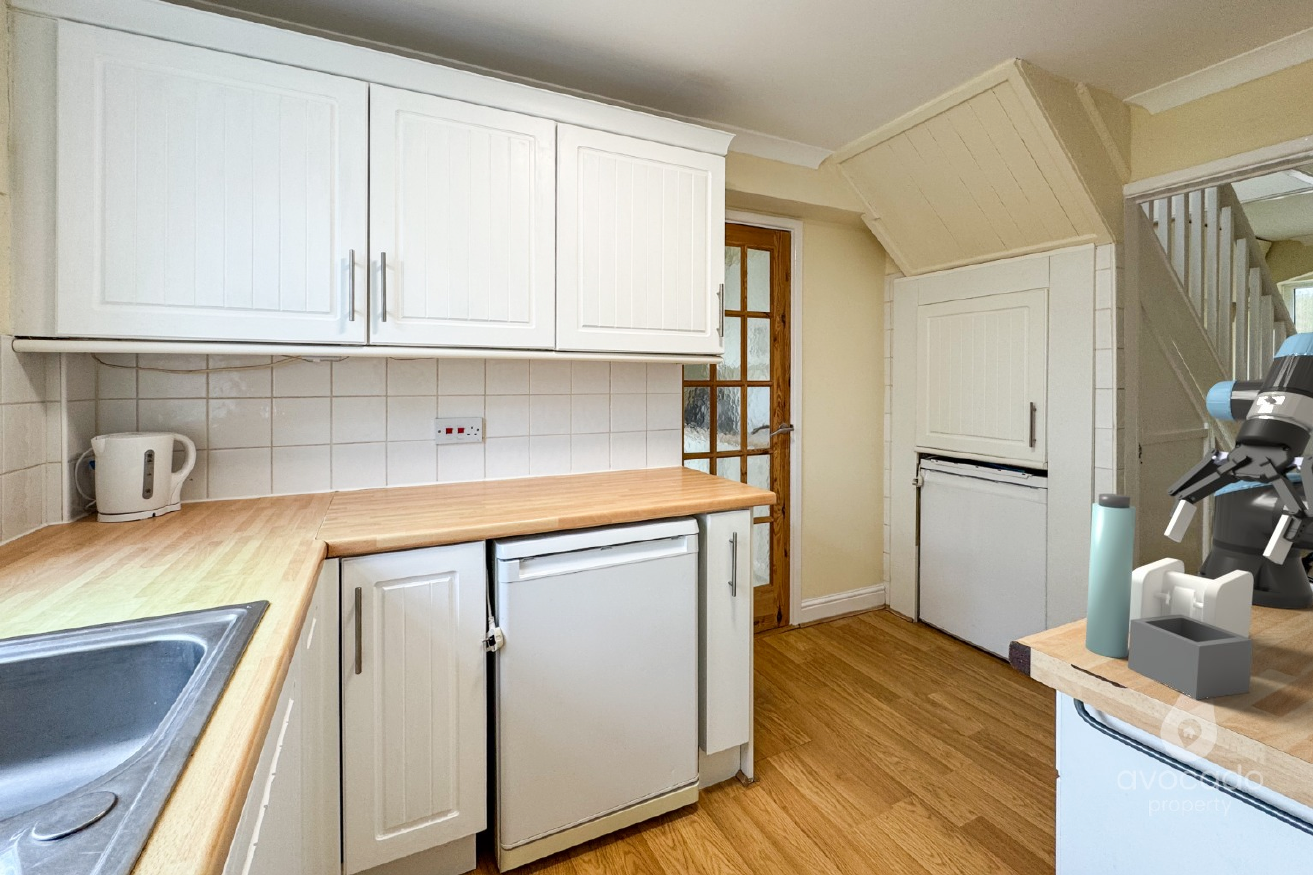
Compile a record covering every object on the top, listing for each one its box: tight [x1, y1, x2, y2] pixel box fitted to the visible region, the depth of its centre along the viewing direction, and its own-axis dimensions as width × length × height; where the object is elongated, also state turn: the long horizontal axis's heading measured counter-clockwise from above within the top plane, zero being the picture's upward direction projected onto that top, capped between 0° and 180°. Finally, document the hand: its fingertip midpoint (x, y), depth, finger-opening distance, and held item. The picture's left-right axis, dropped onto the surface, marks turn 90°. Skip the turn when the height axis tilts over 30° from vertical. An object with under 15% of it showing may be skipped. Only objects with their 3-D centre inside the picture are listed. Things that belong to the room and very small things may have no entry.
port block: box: [1127, 614, 1254, 701], centre depth 77 cm, size 9×9×7 cm
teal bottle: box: [1085, 493, 1137, 659], centre depth 86 cm, size 5×5×24 cm
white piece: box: [1129, 557, 1253, 638], centre depth 88 cm, size 15×11×12 cm
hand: (1218, 548), depth 89 cm, fingers open, 13 cm apart
